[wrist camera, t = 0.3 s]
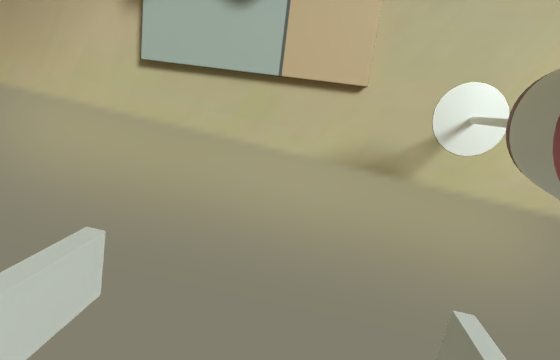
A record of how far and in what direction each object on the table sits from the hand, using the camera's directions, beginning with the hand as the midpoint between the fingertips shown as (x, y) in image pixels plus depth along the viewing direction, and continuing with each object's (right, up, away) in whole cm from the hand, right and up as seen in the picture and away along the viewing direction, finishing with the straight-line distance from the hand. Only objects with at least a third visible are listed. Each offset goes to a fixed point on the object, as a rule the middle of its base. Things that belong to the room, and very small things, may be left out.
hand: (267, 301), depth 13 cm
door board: (-1, +24, +23) cm, 33 cm away
